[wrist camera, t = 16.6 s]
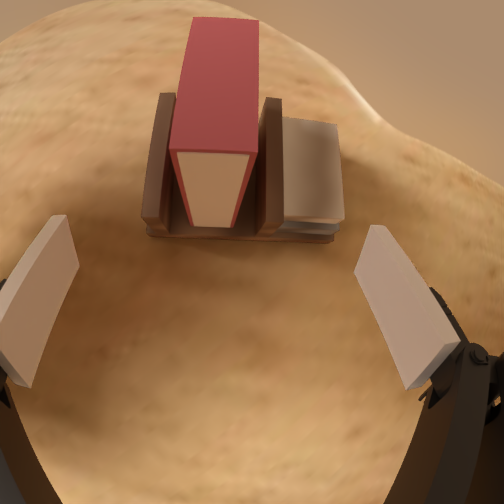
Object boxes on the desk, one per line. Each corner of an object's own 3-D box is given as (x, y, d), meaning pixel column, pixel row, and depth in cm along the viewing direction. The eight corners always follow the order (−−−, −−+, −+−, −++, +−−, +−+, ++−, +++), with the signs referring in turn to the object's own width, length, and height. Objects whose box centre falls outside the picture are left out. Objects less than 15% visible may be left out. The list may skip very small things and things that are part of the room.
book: (190, 227, 25) (168, 150, 11) (197, 135, 26) (193, 17, 12) (233, 228, 25) (257, 153, 12) (236, 136, 27) (258, 20, 13)
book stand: (149, 236, 26) (129, 216, 19) (161, 135, 27) (150, 93, 20) (327, 243, 28) (362, 227, 21) (322, 145, 29) (349, 109, 22)
